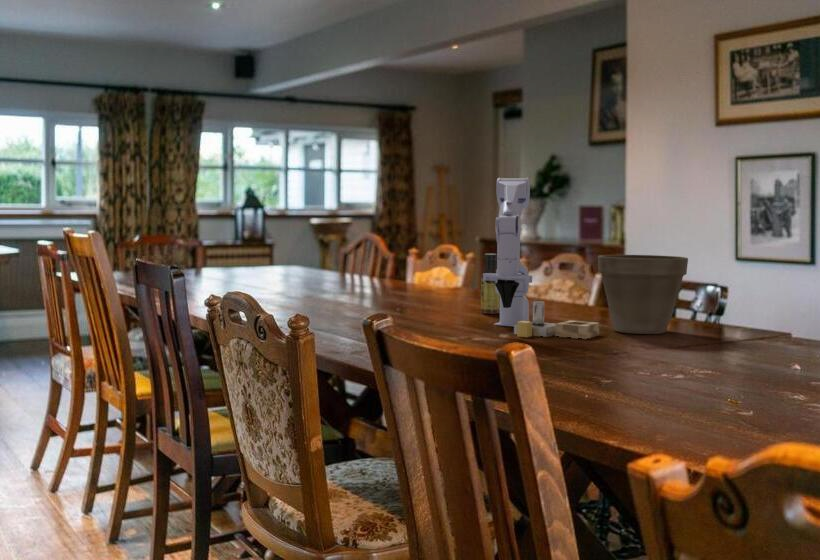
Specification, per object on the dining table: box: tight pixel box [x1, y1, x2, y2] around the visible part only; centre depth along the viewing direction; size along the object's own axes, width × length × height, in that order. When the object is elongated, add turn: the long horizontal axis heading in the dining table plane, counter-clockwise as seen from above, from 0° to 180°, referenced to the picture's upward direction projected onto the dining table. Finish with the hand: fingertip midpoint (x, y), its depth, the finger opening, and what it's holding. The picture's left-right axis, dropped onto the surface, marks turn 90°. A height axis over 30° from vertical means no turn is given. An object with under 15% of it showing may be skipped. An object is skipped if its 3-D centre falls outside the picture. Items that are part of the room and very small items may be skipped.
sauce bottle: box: [480, 253, 500, 315], centre depth 314 cm, size 6×6×20 cm
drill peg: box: [532, 300, 545, 326], centre depth 267 cm, size 3×3×9 cm
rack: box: [554, 320, 600, 340], centre depth 263 cm, size 9×9×4 cm
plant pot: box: [597, 254, 689, 335], centre depth 271 cm, size 25×25×22 cm
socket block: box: [513, 321, 556, 338], centre depth 267 cm, size 10×10×2 cm
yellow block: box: [516, 320, 533, 338], centre depth 262 cm, size 3×3×4 cm
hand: (507, 307), depth 265 cm, fingers closed
